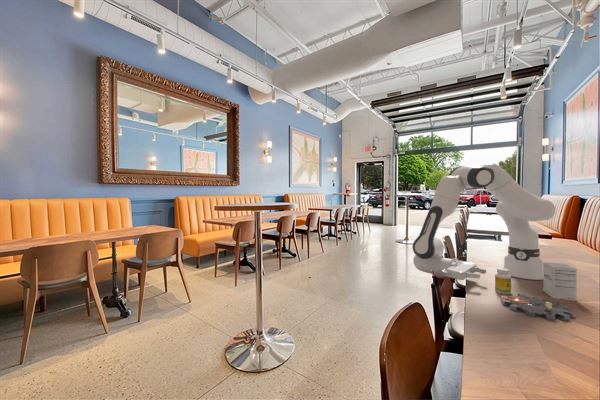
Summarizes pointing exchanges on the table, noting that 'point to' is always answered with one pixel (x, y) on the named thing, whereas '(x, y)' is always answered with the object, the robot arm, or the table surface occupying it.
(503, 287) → the supplement bottle
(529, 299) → the sprocket wheel
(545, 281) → the supplement box
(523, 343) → the table surface
